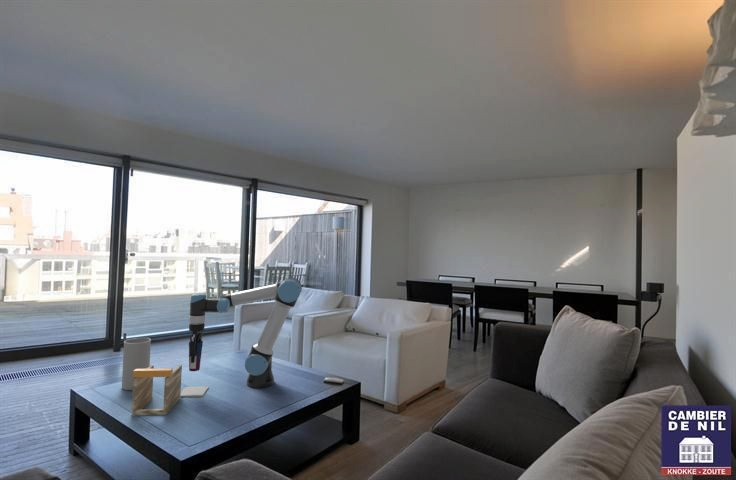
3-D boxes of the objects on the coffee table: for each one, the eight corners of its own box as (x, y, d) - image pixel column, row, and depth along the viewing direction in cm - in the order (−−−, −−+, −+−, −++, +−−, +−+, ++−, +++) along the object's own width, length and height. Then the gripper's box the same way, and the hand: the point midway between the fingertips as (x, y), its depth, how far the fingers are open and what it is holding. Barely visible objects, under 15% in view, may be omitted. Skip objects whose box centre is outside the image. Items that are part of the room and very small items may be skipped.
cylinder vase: (116, 388, 203) (118, 341, 203) (138, 380, 215) (140, 336, 215) (132, 392, 198) (134, 344, 199) (153, 384, 210) (156, 339, 210)
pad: (208, 388, 208) (208, 386, 208) (202, 396, 197) (202, 395, 197) (185, 388, 207) (185, 386, 207) (177, 397, 195) (178, 395, 195)
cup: (204, 368, 204) (205, 341, 204) (194, 372, 197) (196, 343, 198) (194, 367, 206) (195, 339, 206) (184, 370, 200) (185, 342, 200)
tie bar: (172, 374, 179) (172, 368, 179) (170, 376, 176) (170, 370, 176) (135, 375, 177) (136, 368, 177) (132, 377, 174) (133, 370, 174)
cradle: (180, 397, 194) (181, 365, 194) (166, 414, 175) (168, 378, 176) (148, 398, 192) (150, 365, 192) (131, 415, 173) (133, 378, 173)
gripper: (194, 319, 211) (192, 360, 211) (183, 326, 192) (181, 372, 192) (209, 319, 212) (206, 360, 212) (199, 326, 193) (196, 372, 193)
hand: (194, 366), depth 202 cm, fingers closed on cup, 6 cm apart
